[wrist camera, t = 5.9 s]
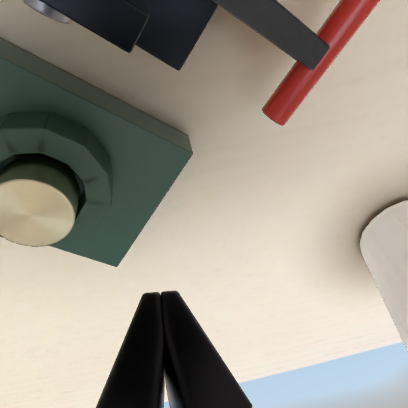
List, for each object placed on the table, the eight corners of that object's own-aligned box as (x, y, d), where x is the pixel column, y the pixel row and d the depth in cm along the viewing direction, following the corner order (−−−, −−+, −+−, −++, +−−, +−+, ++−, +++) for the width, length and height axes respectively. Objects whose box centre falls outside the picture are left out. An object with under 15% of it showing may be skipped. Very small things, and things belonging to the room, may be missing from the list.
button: (92, 175, 18) (88, 200, 16) (63, 228, 19) (56, 256, 18) (12, 142, 16) (-2, 165, 14) (-13, 202, 18) (-27, 230, 16)
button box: (188, 135, 21) (198, 171, 18) (118, 243, 25) (116, 289, 22) (-49, 11, 16) (-94, 31, 13) (-92, 171, 20) (-134, 217, 17)
